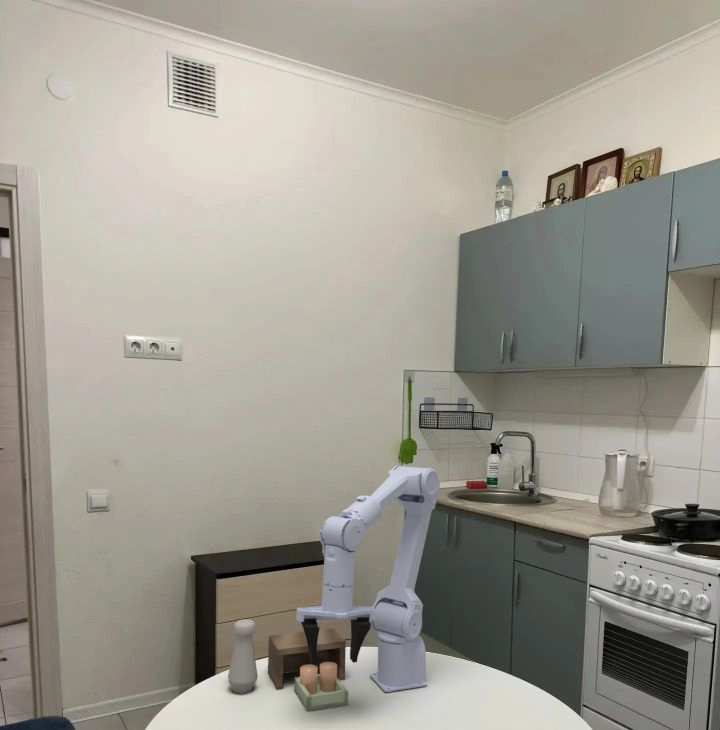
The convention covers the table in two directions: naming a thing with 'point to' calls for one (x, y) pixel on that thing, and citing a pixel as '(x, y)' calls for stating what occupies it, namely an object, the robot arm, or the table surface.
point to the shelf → (303, 653)
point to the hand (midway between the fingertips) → (333, 661)
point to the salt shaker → (243, 658)
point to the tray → (321, 696)
